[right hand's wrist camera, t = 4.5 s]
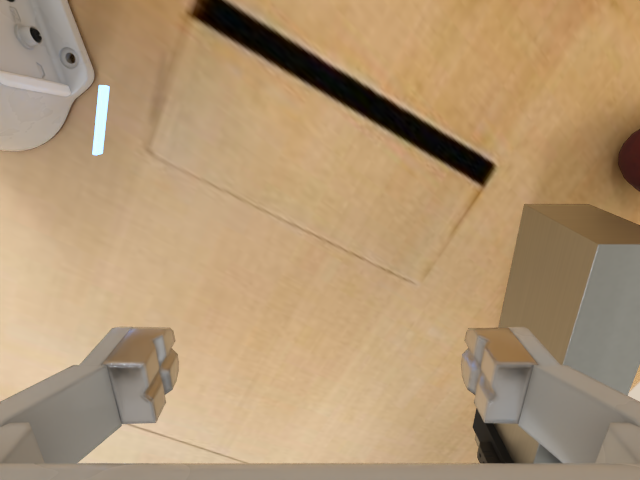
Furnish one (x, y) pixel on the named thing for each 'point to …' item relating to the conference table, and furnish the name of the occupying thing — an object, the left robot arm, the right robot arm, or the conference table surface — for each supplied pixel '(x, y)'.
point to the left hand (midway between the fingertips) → (508, 417)
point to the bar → (575, 299)
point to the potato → (631, 160)
